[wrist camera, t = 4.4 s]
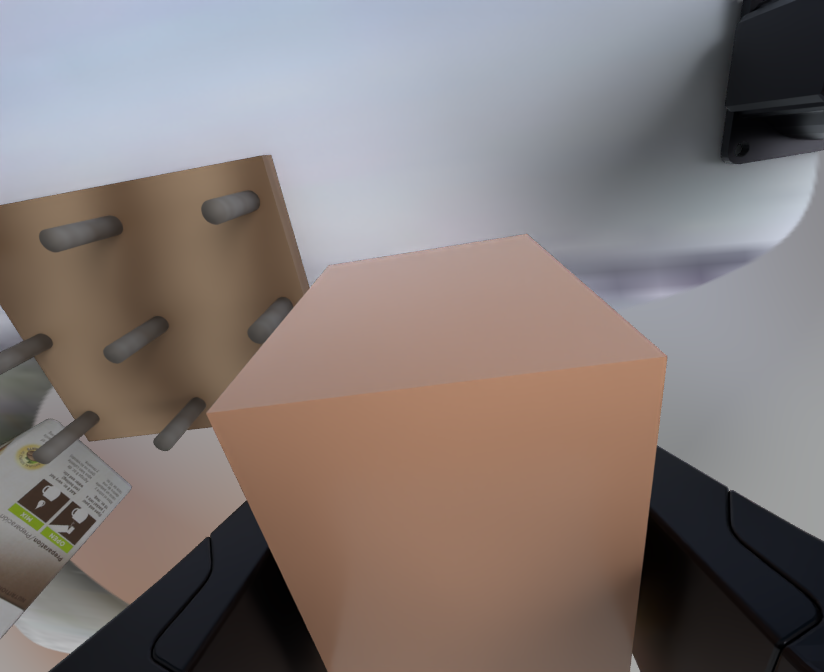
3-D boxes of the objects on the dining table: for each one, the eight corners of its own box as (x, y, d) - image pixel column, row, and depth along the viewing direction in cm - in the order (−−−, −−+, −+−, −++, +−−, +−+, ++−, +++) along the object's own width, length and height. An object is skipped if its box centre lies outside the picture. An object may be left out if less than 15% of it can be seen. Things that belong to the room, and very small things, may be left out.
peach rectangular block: (527, 234, 8) (667, 355, 3) (538, 495, 11) (620, 750, 6) (328, 265, 8) (206, 412, 4) (392, 508, 11) (368, 757, 7)
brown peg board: (270, 155, 16) (225, 157, 12) (342, 401, 21) (324, 453, 17) (-33, 212, 17) (-152, 229, 14) (102, 429, 22) (40, 483, 19)
